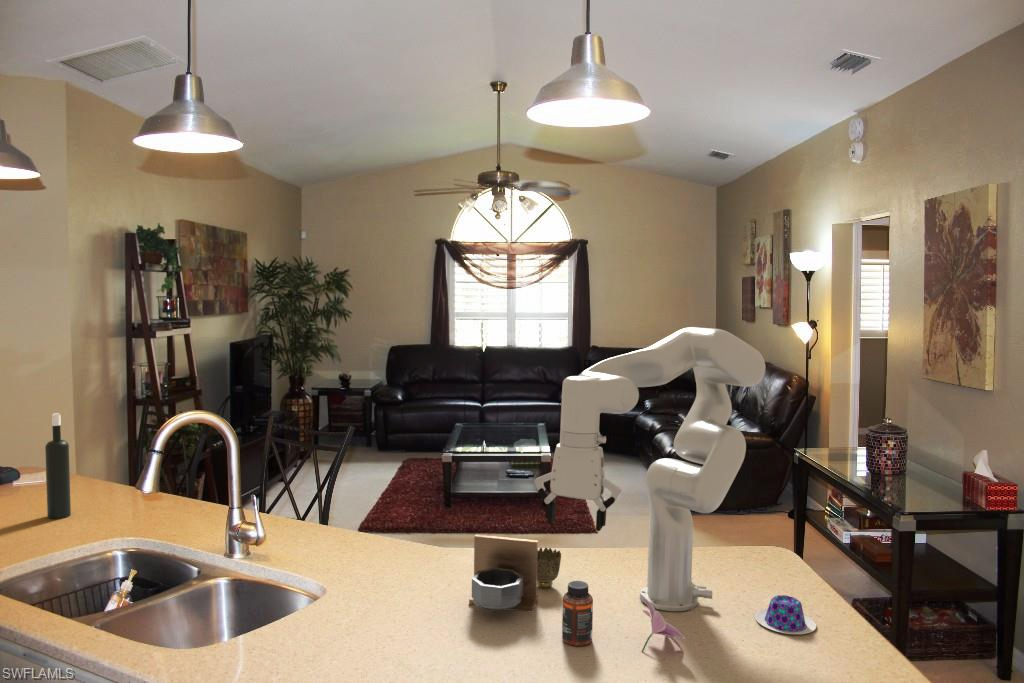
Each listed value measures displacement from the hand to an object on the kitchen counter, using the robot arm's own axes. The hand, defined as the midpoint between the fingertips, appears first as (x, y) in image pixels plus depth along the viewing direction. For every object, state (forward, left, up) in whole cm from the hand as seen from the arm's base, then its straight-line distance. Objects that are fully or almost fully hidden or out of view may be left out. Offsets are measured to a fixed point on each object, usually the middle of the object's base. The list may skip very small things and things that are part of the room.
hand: (575, 525), depth 148 cm
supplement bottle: (-1, +2, -23) cm, 23 cm away
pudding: (-42, -17, -23) cm, 51 cm away
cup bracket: (+17, -7, -22) cm, 29 cm away
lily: (-17, +1, -23) cm, 28 cm away
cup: (+10, -22, -23) cm, 33 cm away
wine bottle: (+155, -34, -23) cm, 160 cm away
